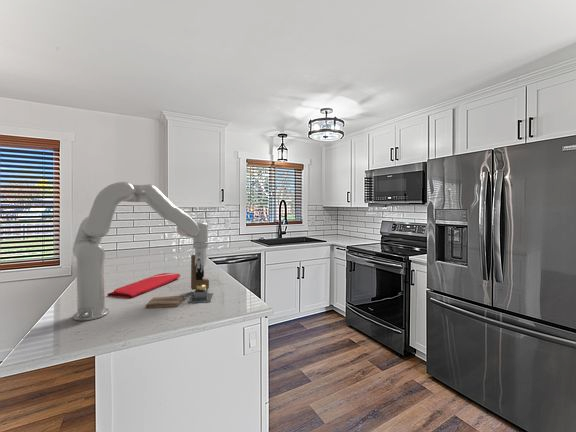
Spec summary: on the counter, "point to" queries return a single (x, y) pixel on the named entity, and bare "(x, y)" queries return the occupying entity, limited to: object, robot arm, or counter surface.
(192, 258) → the wooden block
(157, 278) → the dish drying mat
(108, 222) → the robot arm
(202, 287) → the button
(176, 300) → the board
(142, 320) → the counter surface
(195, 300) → the plate
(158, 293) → the counter surface
